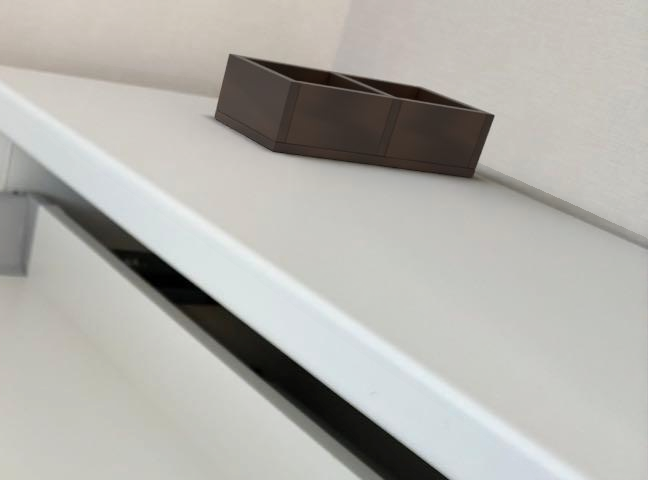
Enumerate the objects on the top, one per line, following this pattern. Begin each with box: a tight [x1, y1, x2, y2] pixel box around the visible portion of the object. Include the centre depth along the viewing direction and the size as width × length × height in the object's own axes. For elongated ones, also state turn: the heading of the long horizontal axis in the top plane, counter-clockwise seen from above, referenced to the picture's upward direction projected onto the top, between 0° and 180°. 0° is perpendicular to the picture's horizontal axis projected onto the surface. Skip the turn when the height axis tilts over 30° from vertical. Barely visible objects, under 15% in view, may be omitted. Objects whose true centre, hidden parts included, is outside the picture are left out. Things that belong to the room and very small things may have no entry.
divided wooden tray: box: [213, 53, 496, 179], centre depth 103 cm, size 23×12×6 cm, turn 112°
